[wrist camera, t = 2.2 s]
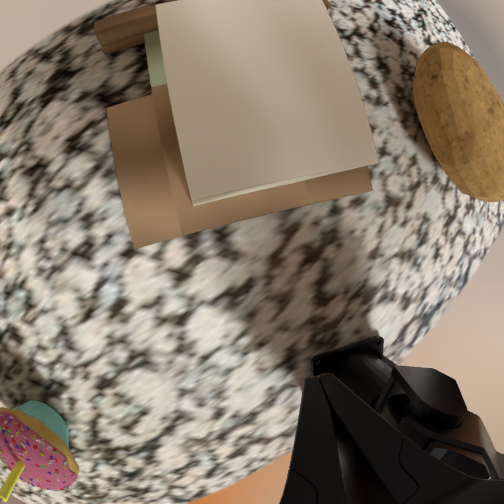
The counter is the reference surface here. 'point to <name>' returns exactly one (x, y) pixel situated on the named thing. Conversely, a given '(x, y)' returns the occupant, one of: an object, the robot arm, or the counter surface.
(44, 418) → the cupcake
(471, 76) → the potato
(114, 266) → the counter surface
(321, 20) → the block
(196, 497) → the counter surface
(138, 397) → the counter surface
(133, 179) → the lane board
